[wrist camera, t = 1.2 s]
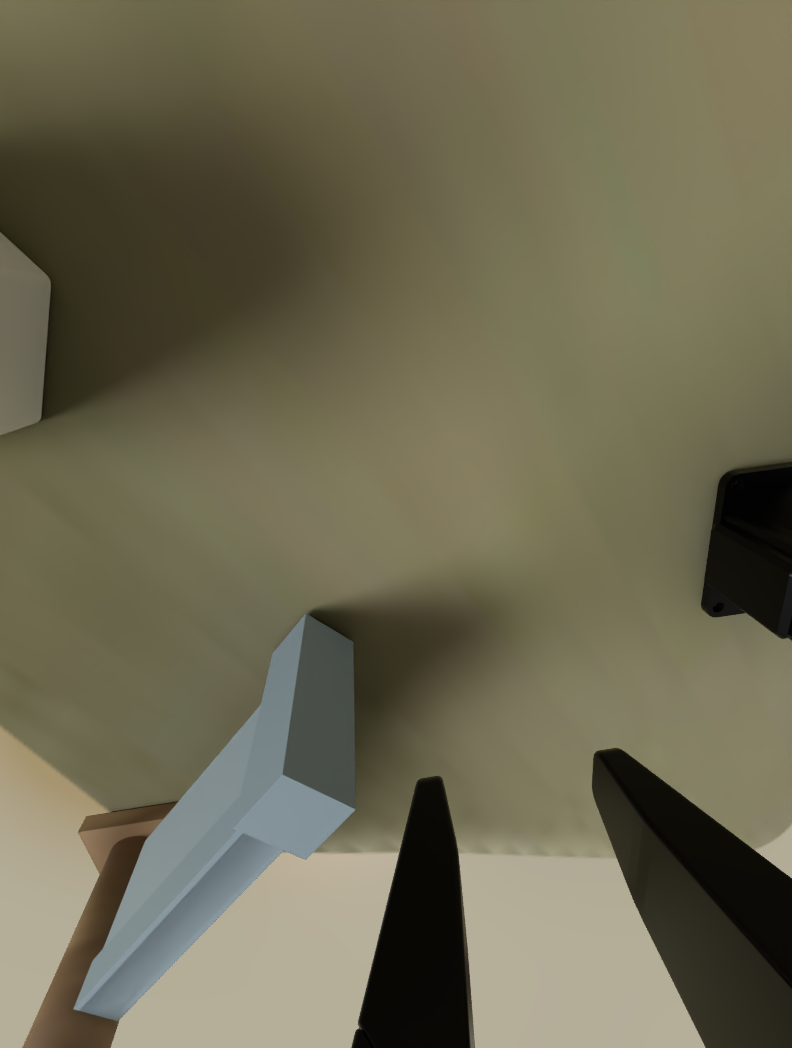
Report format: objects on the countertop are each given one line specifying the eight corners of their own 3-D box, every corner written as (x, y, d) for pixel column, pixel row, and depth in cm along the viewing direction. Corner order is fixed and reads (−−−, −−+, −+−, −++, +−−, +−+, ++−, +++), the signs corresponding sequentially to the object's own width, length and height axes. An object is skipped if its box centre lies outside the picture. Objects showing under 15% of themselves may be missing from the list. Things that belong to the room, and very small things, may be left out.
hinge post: (180, 801, 24) (74, 1105, 15) (203, 862, 26) (122, 1168, 16) (86, 816, 24) (-81, 1132, 15) (116, 876, 25) (-16, 1193, 16)
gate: (189, 828, 24) (122, 1043, 17) (143, 809, 24) (53, 1025, 16) (353, 642, 21) (355, 809, 14) (305, 613, 20) (282, 774, 13)
